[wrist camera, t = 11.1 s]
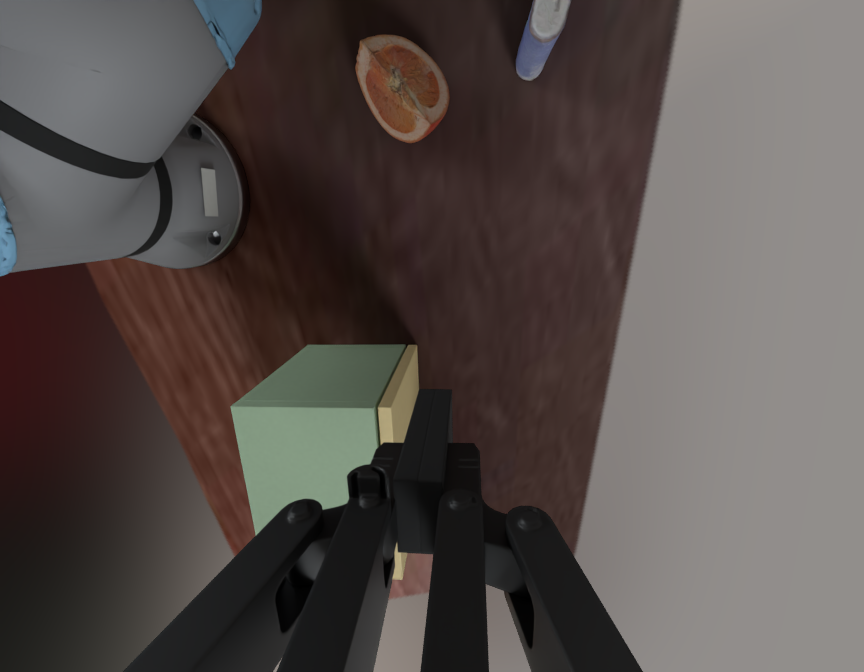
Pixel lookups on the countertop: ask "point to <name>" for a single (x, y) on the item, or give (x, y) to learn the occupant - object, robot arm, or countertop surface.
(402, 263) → the countertop surface
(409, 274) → the countertop surface
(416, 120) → the fruit slice
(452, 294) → the countertop surface
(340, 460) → the cupboard
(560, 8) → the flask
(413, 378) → the door
